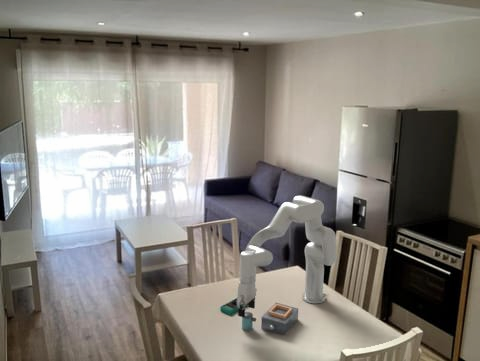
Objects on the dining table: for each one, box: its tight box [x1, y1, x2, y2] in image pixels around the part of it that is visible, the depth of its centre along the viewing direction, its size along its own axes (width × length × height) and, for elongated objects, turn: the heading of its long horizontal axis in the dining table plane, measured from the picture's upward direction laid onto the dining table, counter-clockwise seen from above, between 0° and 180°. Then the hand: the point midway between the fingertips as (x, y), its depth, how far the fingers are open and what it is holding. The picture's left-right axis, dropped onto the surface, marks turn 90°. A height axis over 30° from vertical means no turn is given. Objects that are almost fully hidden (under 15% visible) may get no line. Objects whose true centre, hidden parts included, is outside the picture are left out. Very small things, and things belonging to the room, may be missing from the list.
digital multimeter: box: [219, 297, 248, 316], centre depth 223 cm, size 7×15×3 cm, turn 139°
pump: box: [241, 311, 257, 332], centre depth 203 cm, size 5×7×7 cm
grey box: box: [261, 302, 299, 336], centre depth 206 cm, size 18×12×8 cm, turn 151°
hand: (246, 312), depth 202 cm, fingers open, 9 cm apart
